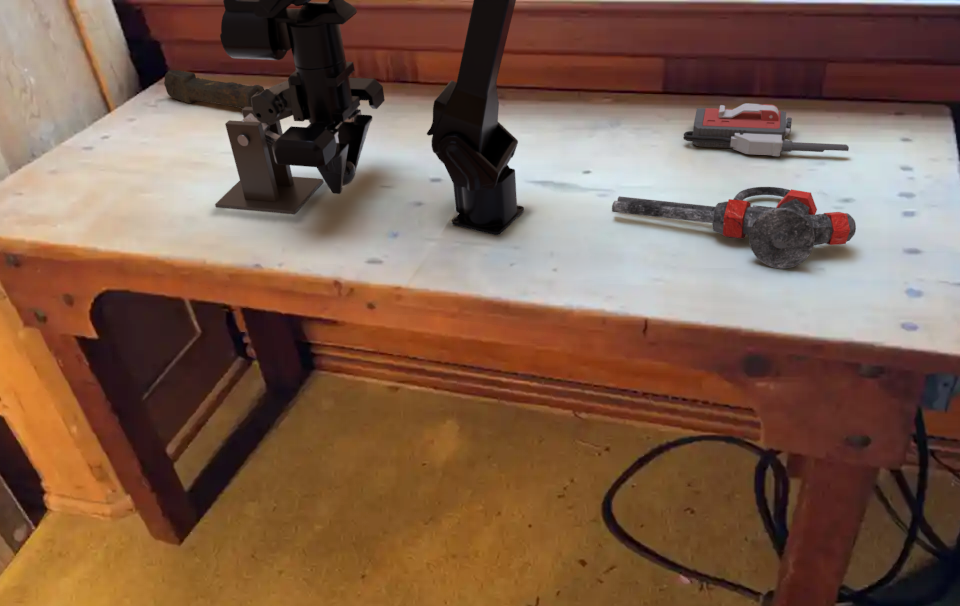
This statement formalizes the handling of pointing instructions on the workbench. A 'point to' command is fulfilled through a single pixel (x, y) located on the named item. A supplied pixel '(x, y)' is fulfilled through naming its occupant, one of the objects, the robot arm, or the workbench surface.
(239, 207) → the bracket
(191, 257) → the workbench surface
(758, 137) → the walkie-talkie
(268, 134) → the lever
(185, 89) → the hand tool
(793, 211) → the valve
